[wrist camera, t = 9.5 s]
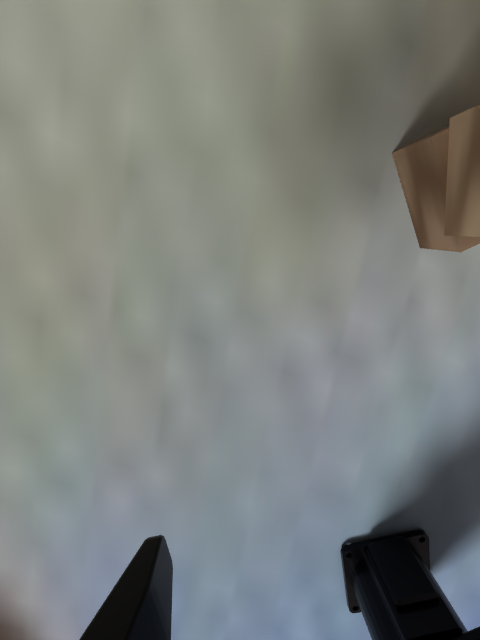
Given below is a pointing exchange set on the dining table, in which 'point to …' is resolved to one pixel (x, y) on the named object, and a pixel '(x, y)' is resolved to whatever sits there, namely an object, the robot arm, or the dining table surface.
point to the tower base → (429, 191)
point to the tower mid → (463, 175)
